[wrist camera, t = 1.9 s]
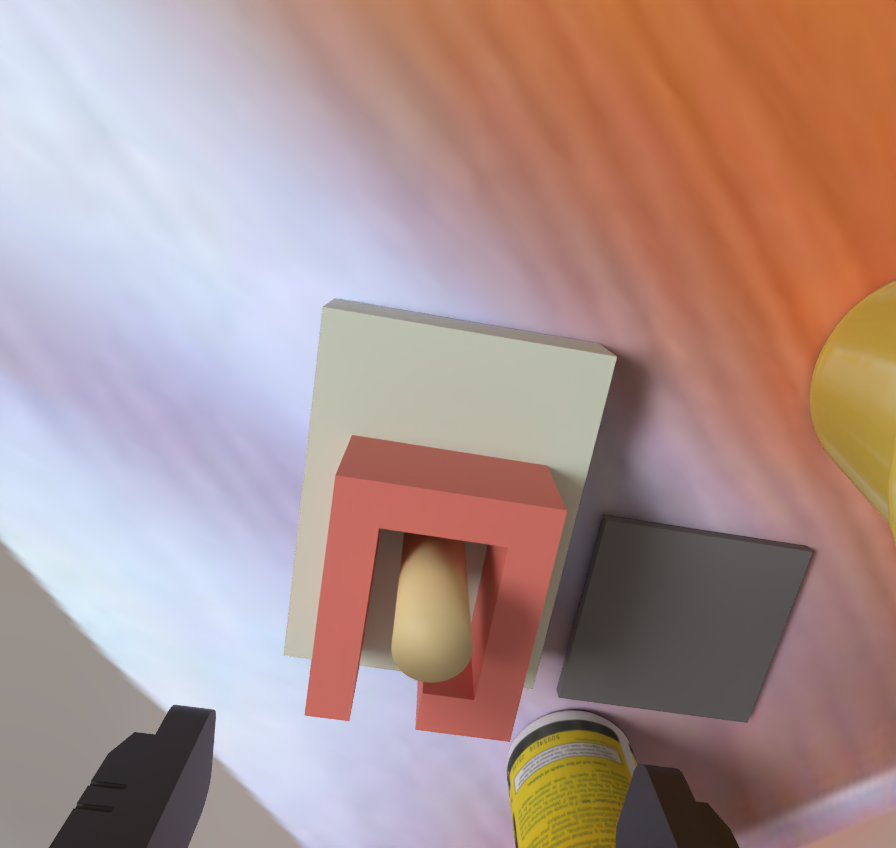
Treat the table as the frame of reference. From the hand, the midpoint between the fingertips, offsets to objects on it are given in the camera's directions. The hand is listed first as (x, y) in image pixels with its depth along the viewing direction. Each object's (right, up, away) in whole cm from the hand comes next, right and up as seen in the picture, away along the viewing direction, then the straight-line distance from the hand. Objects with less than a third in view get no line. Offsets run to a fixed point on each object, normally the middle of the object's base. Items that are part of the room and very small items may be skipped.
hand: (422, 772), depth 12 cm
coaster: (+8, 0, +10) cm, 13 cm away
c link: (0, +3, +7) cm, 8 cm away
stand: (0, +4, +9) cm, 10 cm away
